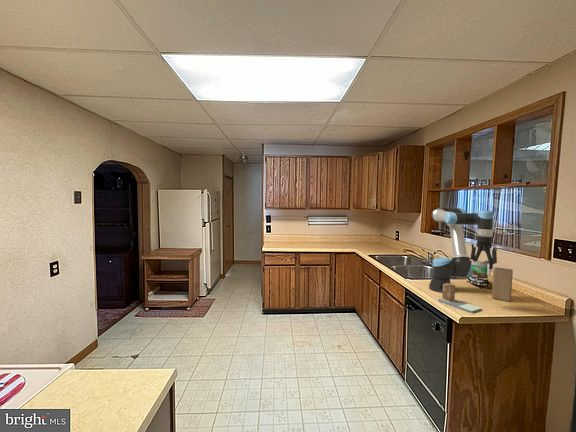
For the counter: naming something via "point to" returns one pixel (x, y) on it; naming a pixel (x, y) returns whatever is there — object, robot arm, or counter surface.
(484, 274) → the food container
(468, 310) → the board
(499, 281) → the wooden block
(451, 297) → the walnut pillar
